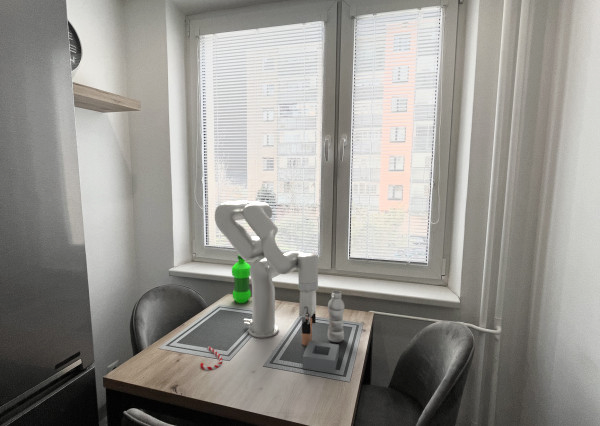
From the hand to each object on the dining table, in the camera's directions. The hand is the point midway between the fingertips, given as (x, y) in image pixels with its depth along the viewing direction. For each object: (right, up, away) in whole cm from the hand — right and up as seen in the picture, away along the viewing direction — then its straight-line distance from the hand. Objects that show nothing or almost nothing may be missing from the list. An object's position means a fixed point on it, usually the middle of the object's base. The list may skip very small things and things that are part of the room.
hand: (309, 327), depth 127 cm
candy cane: (-36, -8, -11) cm, 38 cm away
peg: (-1, -6, +1) cm, 7 cm away
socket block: (+4, -8, -12) cm, 15 cm away
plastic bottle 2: (+11, -7, +3) cm, 13 cm away
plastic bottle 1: (-34, -2, +44) cm, 56 cm away
